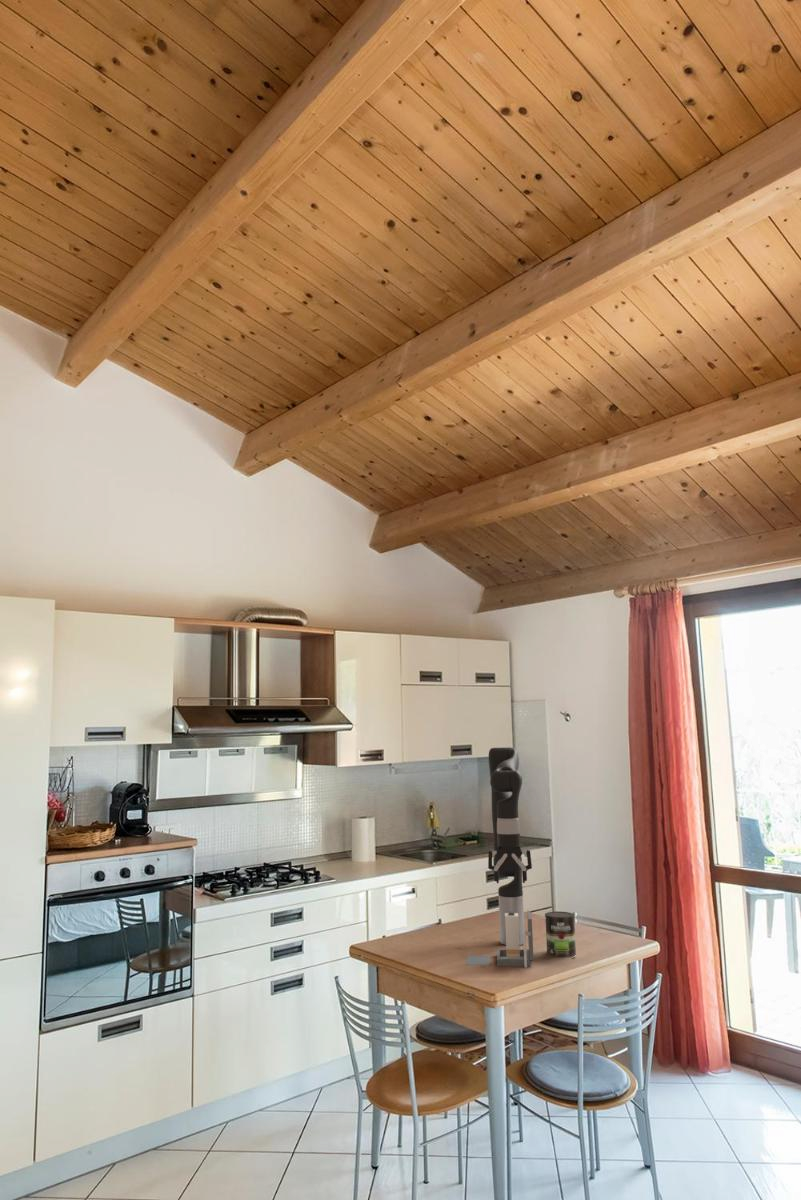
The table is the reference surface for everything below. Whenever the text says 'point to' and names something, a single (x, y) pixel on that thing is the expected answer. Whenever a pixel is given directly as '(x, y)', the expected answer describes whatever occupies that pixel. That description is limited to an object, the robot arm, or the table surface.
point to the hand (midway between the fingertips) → (510, 882)
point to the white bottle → (512, 935)
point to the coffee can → (560, 934)
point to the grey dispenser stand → (524, 953)
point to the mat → (478, 960)
